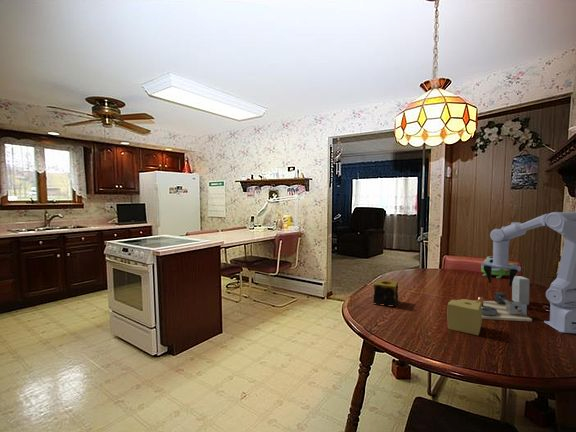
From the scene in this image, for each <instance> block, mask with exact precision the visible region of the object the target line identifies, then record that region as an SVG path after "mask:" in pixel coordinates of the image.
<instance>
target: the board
mask: <svg viewBox="0 0 576 432" xmlns="http://www.w3.org/2000/svg"><path fill="white" fill-rule="evenodd" d="M473 301H477V302H478V300H473ZM483 305H484V306H489V307H492V308H495V309H496V310H497V315H495V316H487V315H482V320H497V321H512V322H513V321H514V322H516V321H517V322H533V318H531V317H529V316H528V315H526V316H523V315H509V314H508V313H507V312H506V304H498V303H496V302H495V300H493V301H492V300H483ZM515 310H518V308H515Z"/></svg>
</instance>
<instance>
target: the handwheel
mask: <svg viewBox="0 0 576 432" xmlns="http://www.w3.org/2000/svg"><path fill="white" fill-rule="evenodd" d="M477 301H478V302H481V303H482V315H487V316H495V315H497V310H496V309H495V308H492V307H489V306H484V305H483V301H484V297H483V296H477Z"/></svg>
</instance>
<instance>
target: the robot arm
mask: <svg viewBox="0 0 576 432" xmlns="http://www.w3.org/2000/svg"><path fill="white" fill-rule="evenodd" d="M540 227H548V228H550V229H552V230H553V231H555V232H557V233H558V234H560V235H561V236H562V237H563V238H564V245H563V248H562V253H561V257H560V262H559V266H558V271H557V276H556V278H555V279H554V280H553V281H552V282H551V283H550V286H549V288H548V289H547V290H546V291H545V297H546V299H547V300H548V302H549V305H550V307H549V320H544V321H543V323H544V324H547V325H549V327H552V328H553V329H555V330H557V332H559V333H563V334H576V212H575V211H571V210H570V211H562V212H561V211H560V212H559V211H553V212H550V213H544V214H542V215H540V216H537V217H535V218H532V219H530V220H528V221H526V222H523V223H522V222H518V221H517V222H516V221H512V222H511V224H509V225H507V226H505V225H503V226H501V228H494V229H492V230H491V232H490V233H489V236H490V239H491V240H492V241H493V242H492V246H493V247H492V256H493V263H490V262H483V261H482V262H481V264H480V265H481V266H480V267H484V271H485V272H486V274H487V276H486V277H487V281H488V283H489V284H491V283H492V278H493V277H492V275H491V272H492V268H500V269H507V271H509V270H510V275H509V282H508V284H509V285H508V286H509V287H512V283H513V279H514V277H515V276H517V273H518V272H521V270H522V266H520V265H516V266H515V265H509V264H510V263H509V249H510V248H509V247H510V242H511V240H512V239H515V238H518V237H522V236H524V235H526V234H527V232H528V231H529V230H533V229H537V228H540Z"/></svg>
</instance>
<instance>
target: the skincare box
mask: <svg viewBox="0 0 576 432" xmlns="http://www.w3.org/2000/svg"><path fill="white" fill-rule="evenodd" d="M511 288H512V289H511V290H512V291H511V301H512V302H523V303H525V304H527V306H529V305H530V279H529V278H527V277H524V276H521V275H520V276H519V275H515V277H514V279H513V282H512V286H511Z"/></svg>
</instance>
